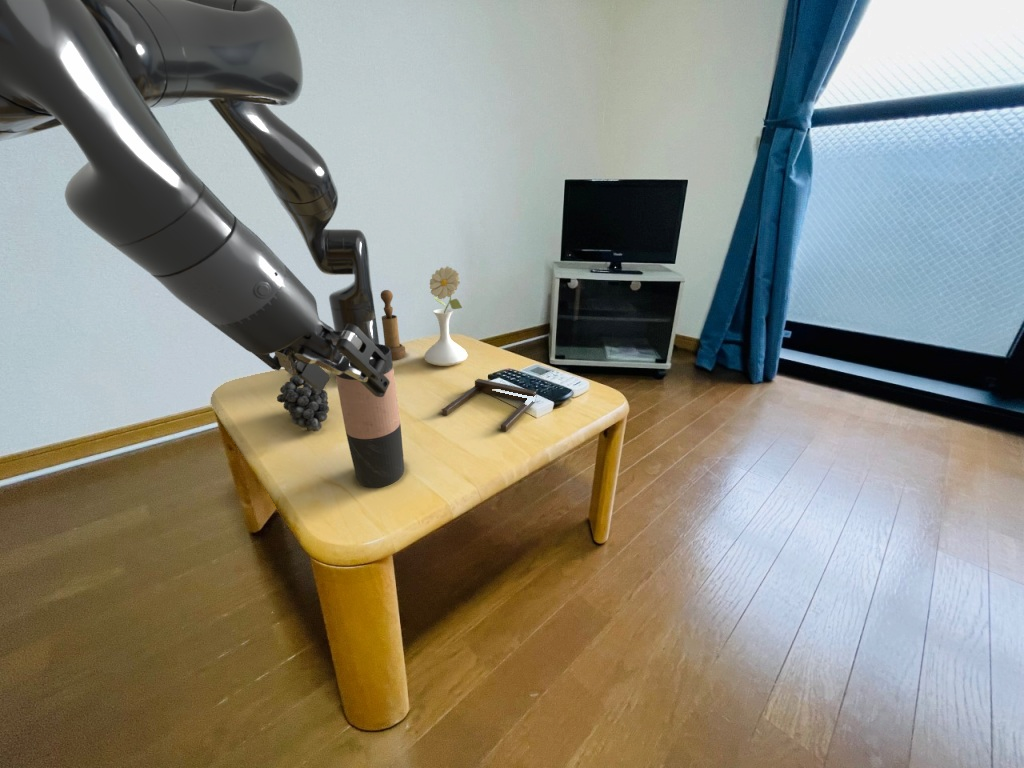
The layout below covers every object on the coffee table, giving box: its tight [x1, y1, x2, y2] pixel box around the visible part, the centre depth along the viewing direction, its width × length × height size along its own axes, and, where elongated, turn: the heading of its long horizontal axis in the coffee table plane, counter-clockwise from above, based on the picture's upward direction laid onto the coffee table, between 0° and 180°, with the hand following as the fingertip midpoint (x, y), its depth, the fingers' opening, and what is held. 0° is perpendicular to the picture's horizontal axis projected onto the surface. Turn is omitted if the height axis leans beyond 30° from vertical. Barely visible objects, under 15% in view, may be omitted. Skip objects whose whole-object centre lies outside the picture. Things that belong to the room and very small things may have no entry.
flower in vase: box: [423, 265, 468, 367], centre depth 99 cm, size 13×11×25 cm
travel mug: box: [333, 343, 405, 489], centre depth 57 cm, size 8×8×20 cm
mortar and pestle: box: [380, 289, 407, 361], centre depth 104 cm, size 7×6×18 cm
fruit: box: [276, 374, 330, 432], centre depth 73 cm, size 9×8×15 cm
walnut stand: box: [441, 378, 537, 433], centre depth 81 cm, size 14×14×2 cm
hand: (353, 386), depth 46 cm, fingers open, 8 cm apart
